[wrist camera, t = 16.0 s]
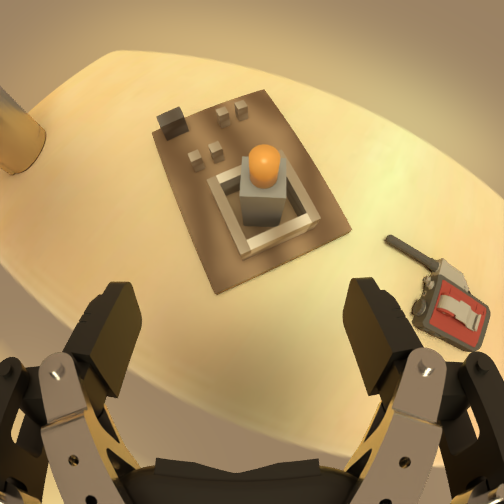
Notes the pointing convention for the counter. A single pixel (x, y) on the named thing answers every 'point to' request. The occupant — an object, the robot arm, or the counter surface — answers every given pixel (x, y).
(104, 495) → the robot arm
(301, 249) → the board
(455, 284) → the walkie-talkie
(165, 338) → the counter surface
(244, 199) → the connector plug
